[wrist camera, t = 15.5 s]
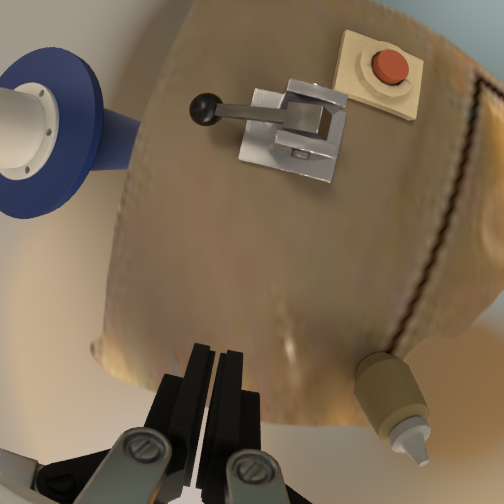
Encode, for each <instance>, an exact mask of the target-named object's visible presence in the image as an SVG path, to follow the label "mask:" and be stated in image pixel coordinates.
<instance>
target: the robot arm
mask: <svg viewBox="0 0 504 504" xmlns="http://www.w3.org/2000/svg"><path fill="white" fill-rule="evenodd" d="M58 128H59V109H58V104H57V101H56V99H55V96H54V95H53V93H52V92H51V90H50V89H48V88H47V87H46V86H44V85H41V84H38V83H34V82H33V83H26V84H23V85H20V86H19V87H17V88H15V89H14V90H11V89H7V88H2V87H0V173H1V174H2V175H3V176H5V177H6V178H9V179H12V180H21V179H26V178H28V177H31V176H32V175H34V174H35V173H37V172H38V171H39V170H40V169H41V168H42V167H43V165H44V164H45V162H46V161H47V160H48V158H49V156H50V154H51V152H52V150H53V147H54V145H55V142H56V138H57V134H58ZM215 352H216V351H211V350H210V346H207V345H203V344H198V343H195V344H194V347H193V350H192V353H191V356H190V359H189V362H188V366H187V369H186V372H185V375H184V378H182V377H178V376H174V375H170V374H166V373H165V374H164V376H163V379H162V381H161V384H160V386H159V389H158V391H157V394H156V396H155V399H154V401H153V404H152V406H151V409H150V411H149V414H148V416H147V419H146V422H145V424H144V427H136V428H131V429H129V430H127V431H125V432H124V433H123V434H122V435H121V436H120V437H119V438H118V440H117V441H116V442H115V444H114V445H113V447H112V448H111V449H108V450H104V451H101V452H97V453H93V454H90V455H85V456H81V457H78V458H73V459H69V460H65V461H60V462H56V463H51V464H49V465H46V466H45V465H42V464H39V463H38V461H37V460H34V459H31V458H27V457H24V456H21V455H18V454H15V453H12V452H10V451H7V450H4V449H1V448H0V504H168V502H170V501H172V500H174V499H176V498H179V497H180V496H181V493H182V489H183V486H188V487H190V483H191V478H192V472H193V467H194V462H195V457H196V451H197V446H198V440H199V435H200V429H201V425H202V419H203V414H204V409H205V404H206V399H207V393H208V388H209V383H210V378H211V373H212V368H213V363H214V357H215ZM242 369H243V353H242V352H236V351H231V350H227V354H225V353H220V358H219V363H218V367H217V372H216V377H215V382H214V386H213V391H212V396H211V401H210V406H209V411H208V416H207V422H206V428H205V434H204V439H203V445H202V451H201V457H200V463H199V469H198V475H197V481H196V488H198V489H202V493H201V498H202V502H203V503H204V504H312V503H311V502H309V501H308V500H306V499H305V498H303V497H302V496H301V495H300V494H298V493H297V492H296V491H294V490H293V489H292V488H290V487H289V486H288V485H286V484H285V483H284V479H283V475H282V472H281V468H280V466H279V464H278V462H277V461H276V460H275V459H274V458H273V457H272V456H271V455H269V454H268V453H266V452H263V451H261V431H260V395H259V393H258V392H252V391H246V390H241V387H242Z"/></svg>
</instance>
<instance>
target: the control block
mask: <svg viewBox="0 0 504 504" xmlns="http://www.w3.org/2000/svg"><path fill="white" fill-rule="evenodd" d="M389 49H390V50H394V51H397V52H399V53H400V54H401V55H402V56H403V57H404V58H405V59H406V61H407V63H408V66H409V73H408V75H407V77H406V78H405V79H403V80H401V81H400V82H398V83H396V84H387V83H385V82H383V81H381V80H380V79H379V78H378V77H377V76H376V74H375V73H374V70H373V60H374V58H375V57H376V56H377V55H378V54H380V53H381V52H382V51H384V50H389ZM422 70H423V61H422V60H420V59H418V58H416V57H414V56H412V55H410V54H408V53H405V52H403V51H402V50H401V49H400V48H399V47H397V46H395V45H392V44H390V43H387V42H385V41H383V42H380V41H377V40H374V39H372V38H369V37H367V36H364V35H361V34H358V33H355V32H353V31H350V30H347V29H346V30H345V31H344V33H343V34H342V38H341V44H340V49H339V54H338V59H337V64H336V69H335V74H334V79H333V83H332V88H331V90H335V91H338V92H341V93H344V94H347V95H348V98H350V99H353V100H356V101H359V102H362V103H365V104H368V105H370V106H373V107H376V108H379V109H381V110H384V111H386V112H389V113H391V114H394V115H396V116H399V117H401V118H404V119H406V120H408V121H410V120H414V119H416V114H417V108H418V101H419V94H420V87H421V79H422Z"/></svg>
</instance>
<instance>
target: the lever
mask: <svg viewBox="0 0 504 504" xmlns="http://www.w3.org/2000/svg"><path fill="white" fill-rule="evenodd" d="M189 112H190V116H191V118H192V120H193V121H194V122H195V123H197V124H199V125H201V126H211V125H214V124H216V123H217V122H219V121H220V119H221V118H222V117H224V118H235V119H244V120H252V121H260V122H268V123H275V124H282V125H283V128H284V129H286V130H287V131H289V132H291V133H295V134H298V135H302V136H306V137H310V138H315V139H320V140H325V141H327V138H328V134H329V129H330V125H331V120H332V116H333V115H332V114H331V113H330V112H329V111H328V110H327V109H326V108H325V107H324V106H322V105H316V104H309V103H301V102H293V101H289V102H288V106H287V110H284V109H276V108H267V107H257V106H246V105H234V104H223V102H222V100H221V99H220V98H219V97H218V96H216V95H215V94H212V93H203V94H200V95H198V96H197V97H195V98H194V99H193V101H192V102H191V104H190V108H189Z"/></svg>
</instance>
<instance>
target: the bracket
mask: <svg viewBox="0 0 504 504" xmlns="http://www.w3.org/2000/svg"><path fill="white" fill-rule="evenodd" d="M347 99H348V95H347V94H344V93H341V92H338V91H335V90H331V89H328V88H325V87H324V86H322V85H320V84H317V83H307V82H303V81H300V80H296V79H292V78H289V80H288V83H287V86H286V88H285V91H284V93H283V94H281V93H277V92H272V91H268V90H263V89H259V88H255V90H254V94H253V98H252V102H251V106H257V107H267V108H276V109H284V110H287V106H288V102H289V101H293V102H301V103H309V104H316V105H322V106H324V107H325V108H326V109H327V110H328V111H329V112H330V113H331V114H332V115H333V116H332V120H331V125H330V129H329V134H328V138H327V141H325V140H320V139H315V138H310V137H306V136H302V135H298V134H295V133H291V132H289V131H287V130H286V129H284V128H283V125H282V124H275V123H268V122H260V121H252V120H247V122H246V126H245V131H244V135H243V139H242V143H241V148H240V152H239V156H238V160H240V161H245V162H249V163H254V164H258V165H263V166H267V167H271V168H276V169H280V170H284V171H288V172H292V173H296V174H300V175H304V176H307V177H311V178H315V179H319V180H322V181H326V182H331V181H332V177H333V173H334V168H335V164H336V160H337V156H338V151H339V147H340V142H341V138H342V133H343V129H344V124H345V120H346V115H347V112H345V111H342V110H341V109H343V108H344V107H346V104H347Z"/></svg>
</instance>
